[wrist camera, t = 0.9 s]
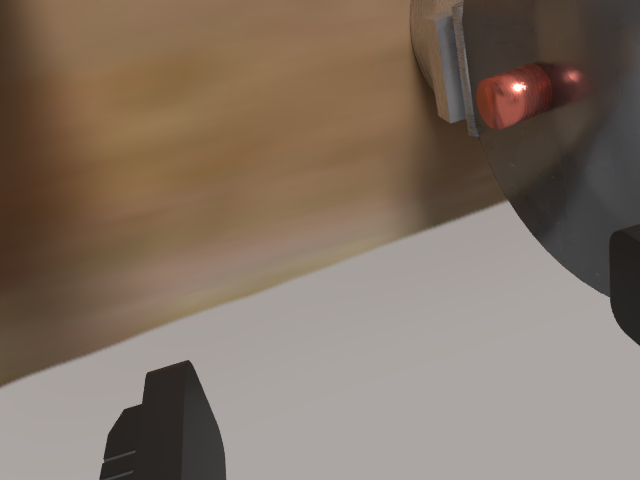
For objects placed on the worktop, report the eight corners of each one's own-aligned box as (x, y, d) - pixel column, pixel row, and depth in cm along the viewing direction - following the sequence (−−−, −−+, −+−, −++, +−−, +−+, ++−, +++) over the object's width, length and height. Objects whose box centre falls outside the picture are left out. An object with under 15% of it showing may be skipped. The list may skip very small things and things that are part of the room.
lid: (445, -228, 24) (369, -211, 23) (1024, -582, 9) (868, -567, 8) (497, 212, 32) (443, 234, 32) (836, 391, 18) (752, 439, 17)
